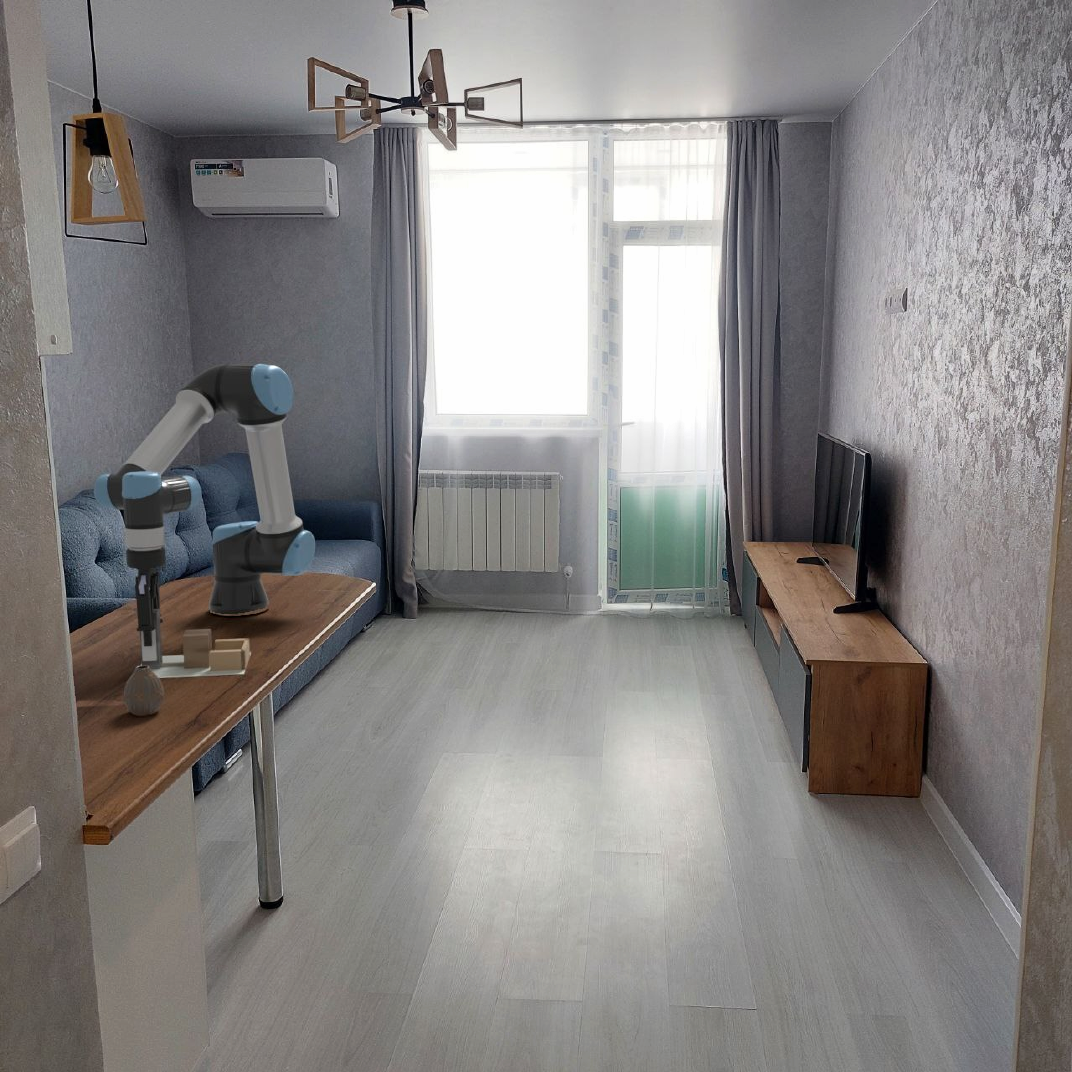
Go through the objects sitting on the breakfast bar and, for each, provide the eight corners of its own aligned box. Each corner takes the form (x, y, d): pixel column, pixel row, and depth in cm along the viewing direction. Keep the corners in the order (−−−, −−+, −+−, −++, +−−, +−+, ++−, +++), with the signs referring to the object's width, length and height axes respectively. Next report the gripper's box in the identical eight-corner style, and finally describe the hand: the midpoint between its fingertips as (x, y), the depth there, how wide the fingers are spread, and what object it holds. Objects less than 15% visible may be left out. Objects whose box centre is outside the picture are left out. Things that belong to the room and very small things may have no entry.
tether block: (145, 663, 211) (142, 608, 209) (212, 660, 214) (209, 606, 212) (141, 670, 207) (137, 614, 205) (209, 667, 209) (206, 611, 207)
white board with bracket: (146, 661, 217) (145, 638, 216) (251, 656, 221) (250, 634, 220) (131, 683, 201) (129, 659, 200) (244, 678, 205) (243, 655, 204)
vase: (131, 706, 188) (129, 661, 187) (169, 705, 189) (166, 661, 187) (119, 719, 181) (116, 672, 180) (158, 718, 182) (156, 672, 180)
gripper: (134, 540, 212) (140, 647, 216) (117, 555, 196) (124, 670, 200) (171, 540, 214) (176, 645, 218) (157, 554, 198) (163, 668, 202)
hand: (151, 657), depth 209 cm, fingers closed on tether block, 3 cm apart
